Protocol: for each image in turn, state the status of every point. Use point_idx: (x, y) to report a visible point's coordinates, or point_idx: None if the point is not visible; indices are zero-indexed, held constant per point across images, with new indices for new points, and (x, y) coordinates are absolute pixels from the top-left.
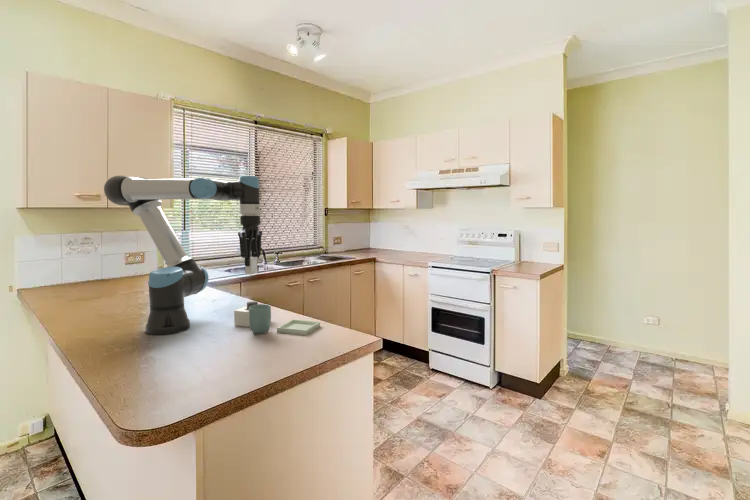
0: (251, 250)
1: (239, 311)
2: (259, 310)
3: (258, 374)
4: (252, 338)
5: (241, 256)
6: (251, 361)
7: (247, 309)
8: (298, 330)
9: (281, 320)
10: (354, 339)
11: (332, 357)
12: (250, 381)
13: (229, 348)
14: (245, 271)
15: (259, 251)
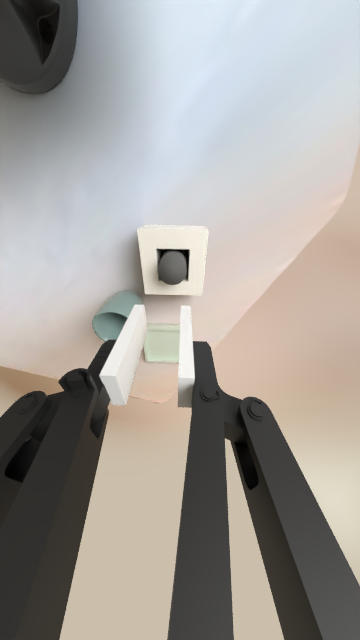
0: (189, 452)
1: (139, 247)
2: (100, 335)
3: (30, 360)
4: (100, 305)
5: (28, 396)
6: (43, 342)
7: (161, 258)
8: (145, 353)
9: (207, 300)
10: (155, 392)
11: None
12: (16, 360)
13: (49, 299)
14: (131, 312)
15: (237, 455)
